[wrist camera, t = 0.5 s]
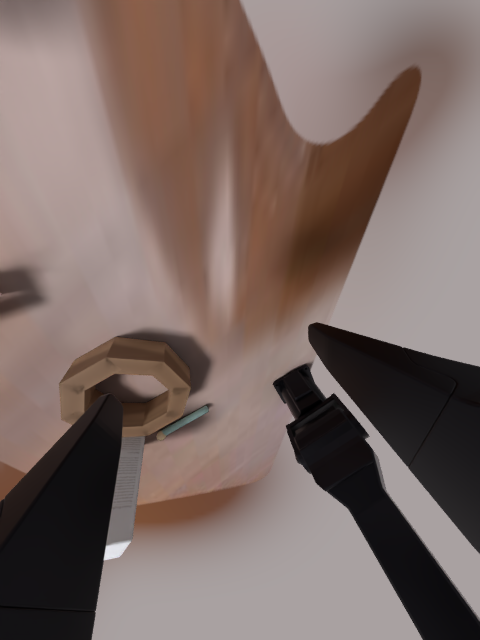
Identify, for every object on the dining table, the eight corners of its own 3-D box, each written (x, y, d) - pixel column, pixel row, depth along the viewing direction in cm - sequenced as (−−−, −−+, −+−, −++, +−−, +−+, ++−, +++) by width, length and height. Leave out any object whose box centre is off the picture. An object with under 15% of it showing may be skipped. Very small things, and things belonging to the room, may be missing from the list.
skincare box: (94, 446, 29) (51, 572, 19) (102, 427, 28) (59, 553, 18) (138, 447, 32) (120, 558, 22) (147, 430, 30) (132, 541, 20)
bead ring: (203, 382, 29) (206, 402, 26) (128, 424, 29) (123, 449, 26) (144, 320, 22) (139, 338, 19) (46, 376, 22) (25, 402, 19)
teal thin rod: (204, 403, 31) (205, 411, 30) (208, 407, 32) (210, 415, 30) (155, 431, 31) (154, 440, 30) (160, 434, 32) (160, 443, 31)
